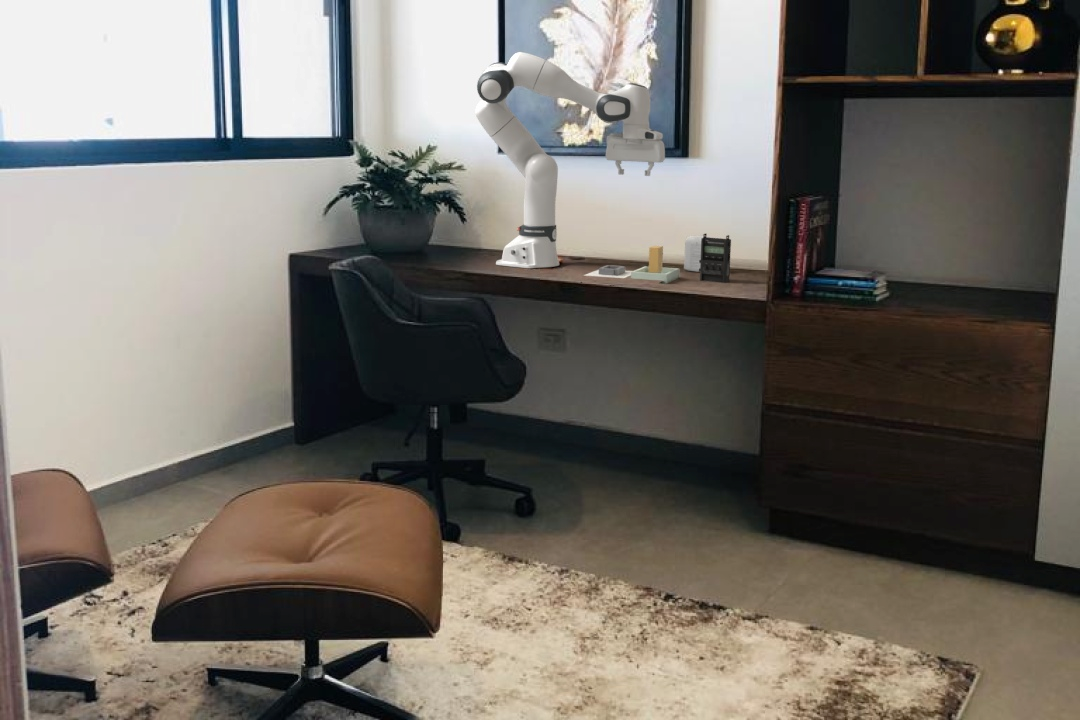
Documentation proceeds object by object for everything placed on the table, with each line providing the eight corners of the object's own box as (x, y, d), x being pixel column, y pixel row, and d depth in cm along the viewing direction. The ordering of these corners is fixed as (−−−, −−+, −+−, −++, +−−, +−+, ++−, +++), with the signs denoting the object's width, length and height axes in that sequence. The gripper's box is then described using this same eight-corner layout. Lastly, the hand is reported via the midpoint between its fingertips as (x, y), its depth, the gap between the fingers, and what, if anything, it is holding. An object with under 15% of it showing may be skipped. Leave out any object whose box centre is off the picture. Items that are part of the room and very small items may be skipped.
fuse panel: (583, 278, 362) (583, 269, 361) (600, 271, 376) (600, 262, 375) (623, 281, 356) (624, 272, 356) (639, 274, 371) (640, 265, 370)
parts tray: (630, 281, 356) (630, 272, 356) (644, 275, 369) (644, 266, 368) (666, 283, 352) (666, 274, 351) (679, 277, 364) (679, 268, 364)
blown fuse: (648, 278, 359) (649, 247, 356) (653, 276, 363) (654, 245, 361) (657, 278, 358) (658, 248, 355) (662, 276, 362) (662, 246, 360)
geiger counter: (695, 280, 359) (697, 234, 355) (701, 278, 362) (703, 232, 359) (725, 283, 353) (727, 236, 350) (731, 281, 357) (733, 235, 353)
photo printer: (714, 272, 377) (716, 235, 374) (709, 273, 373) (710, 237, 370) (687, 269, 382) (688, 233, 379) (682, 271, 379) (683, 234, 376)
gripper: (603, 132, 373) (602, 174, 376) (661, 134, 364) (659, 177, 368) (610, 132, 378) (608, 173, 381) (667, 134, 370) (665, 176, 373)
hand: (634, 175), depth 374 cm, fingers open, 8 cm apart
